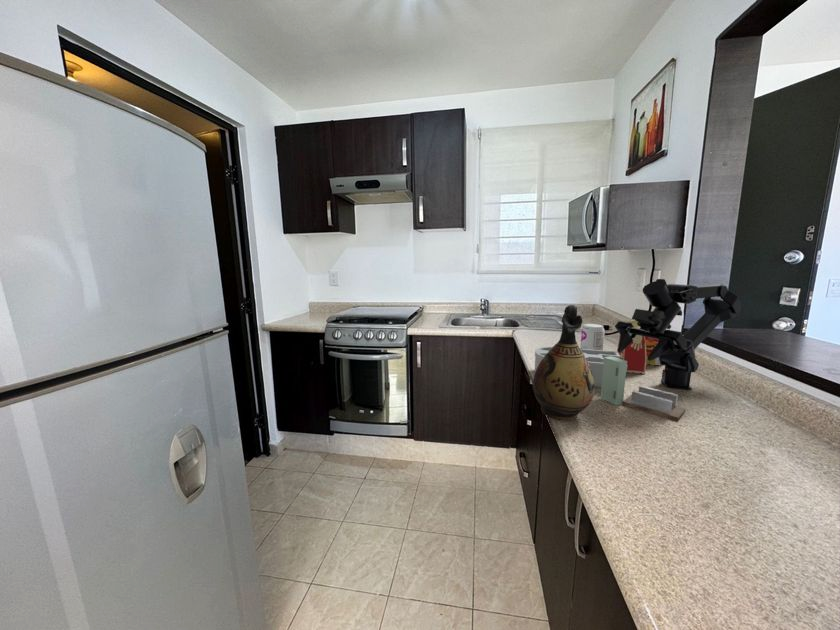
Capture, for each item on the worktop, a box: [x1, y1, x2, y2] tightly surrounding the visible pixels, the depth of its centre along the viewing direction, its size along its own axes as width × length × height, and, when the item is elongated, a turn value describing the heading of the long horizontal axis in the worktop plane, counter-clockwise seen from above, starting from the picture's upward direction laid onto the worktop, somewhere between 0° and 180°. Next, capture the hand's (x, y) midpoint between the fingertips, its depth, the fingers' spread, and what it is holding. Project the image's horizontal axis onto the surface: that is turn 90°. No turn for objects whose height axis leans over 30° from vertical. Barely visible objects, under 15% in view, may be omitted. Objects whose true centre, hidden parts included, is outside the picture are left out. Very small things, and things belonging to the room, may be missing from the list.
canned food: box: [644, 336, 660, 366], centre depth 129 cm, size 8×8×12 cm
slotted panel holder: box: [621, 385, 687, 422], centre depth 91 cm, size 13×8×4 cm, turn 40°
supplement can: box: [579, 323, 606, 351], centre depth 132 cm, size 8×8×15 cm
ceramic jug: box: [532, 304, 595, 421], centre depth 88 cm, size 17×15×30 cm
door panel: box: [600, 356, 627, 406], centre depth 95 cm, size 3×5×13 cm, turn 22°
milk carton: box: [616, 319, 647, 375], centre depth 122 cm, size 9×9×20 cm
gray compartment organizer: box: [534, 346, 628, 388], centre depth 115 cm, size 17×28×9 cm, turn 69°
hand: (632, 355), depth 97 cm, fingers open, 9 cm apart
